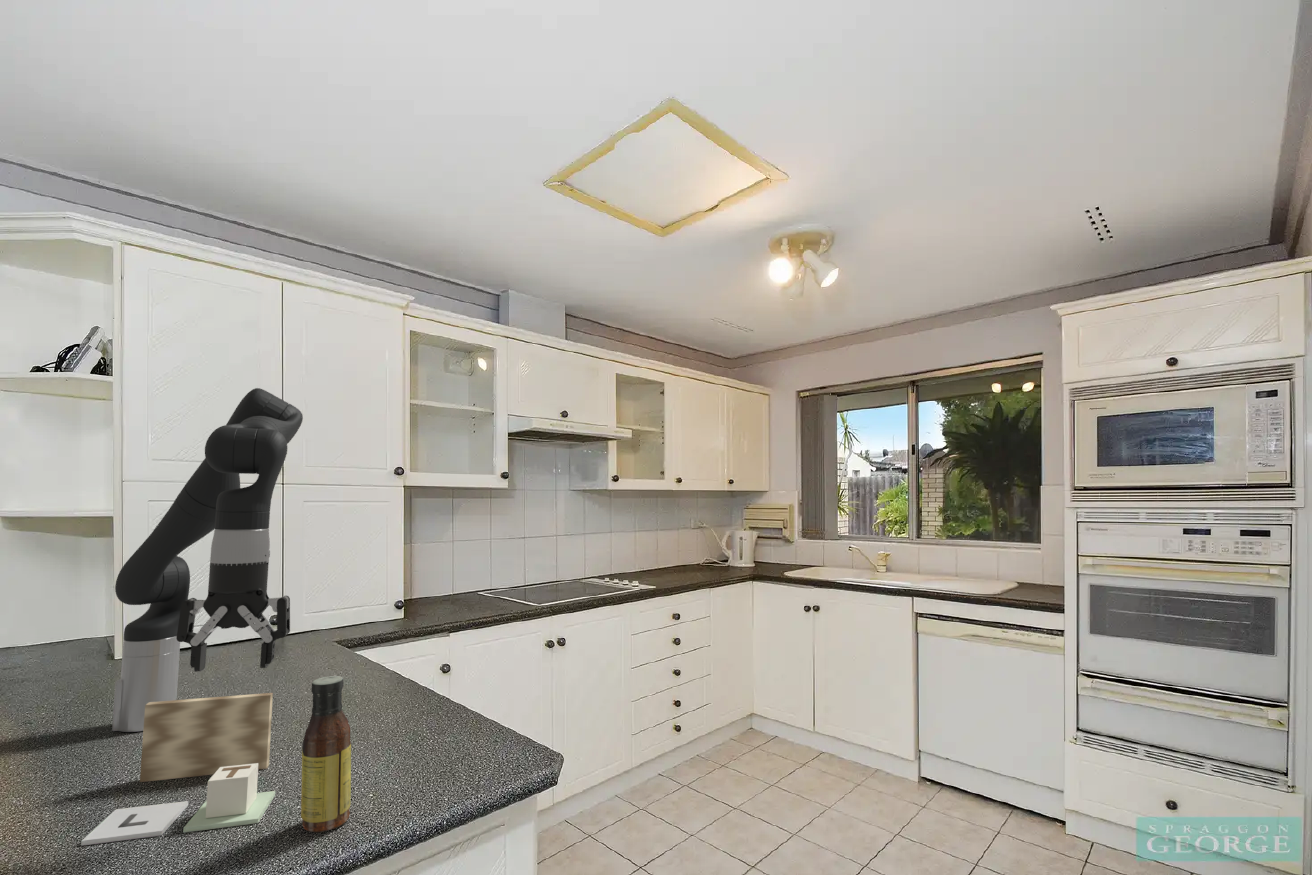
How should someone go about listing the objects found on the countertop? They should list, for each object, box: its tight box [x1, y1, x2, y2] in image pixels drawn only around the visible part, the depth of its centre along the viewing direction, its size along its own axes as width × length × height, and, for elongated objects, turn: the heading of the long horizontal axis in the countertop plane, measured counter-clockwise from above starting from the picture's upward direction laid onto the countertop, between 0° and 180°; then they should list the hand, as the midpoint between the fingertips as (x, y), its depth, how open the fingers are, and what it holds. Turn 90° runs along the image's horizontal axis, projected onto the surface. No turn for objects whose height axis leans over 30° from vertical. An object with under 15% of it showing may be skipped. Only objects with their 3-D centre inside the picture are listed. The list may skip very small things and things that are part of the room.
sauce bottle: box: [300, 675, 352, 834], centre depth 92 cm, size 7×6×20 cm
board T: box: [182, 790, 276, 834], centre depth 94 cm, size 9×9×1 cm
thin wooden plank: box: [139, 692, 274, 783], centre depth 108 cm, size 18×2×12 cm, turn 107°
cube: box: [206, 763, 259, 818], centre depth 94 cm, size 5×5×5 cm
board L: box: [80, 800, 189, 846], centre depth 91 cm, size 9×9×1 cm
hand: (232, 668), depth 97 cm, fingers open, 8 cm apart
